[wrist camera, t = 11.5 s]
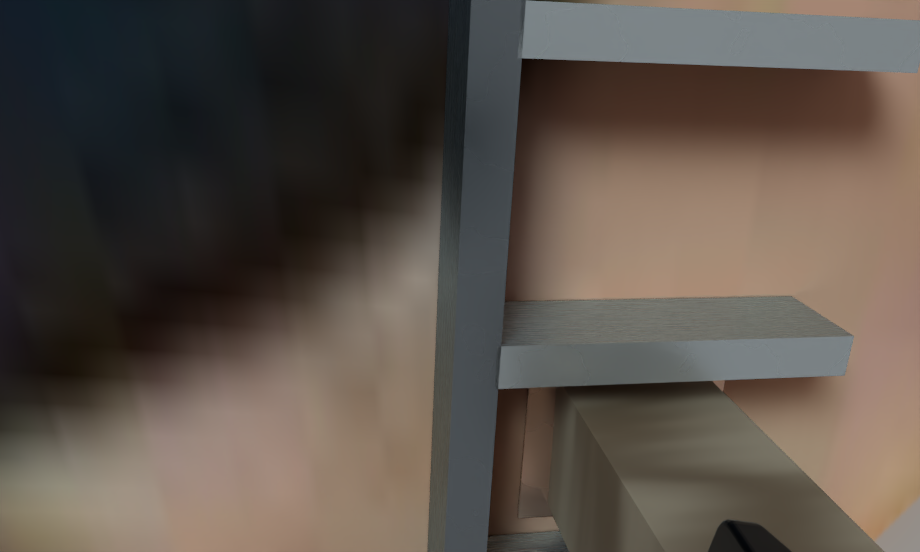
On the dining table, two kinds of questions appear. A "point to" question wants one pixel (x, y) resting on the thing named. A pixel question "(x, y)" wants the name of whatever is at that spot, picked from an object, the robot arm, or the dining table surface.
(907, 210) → the dining table surface
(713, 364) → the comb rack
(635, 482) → the grey-brown peg
